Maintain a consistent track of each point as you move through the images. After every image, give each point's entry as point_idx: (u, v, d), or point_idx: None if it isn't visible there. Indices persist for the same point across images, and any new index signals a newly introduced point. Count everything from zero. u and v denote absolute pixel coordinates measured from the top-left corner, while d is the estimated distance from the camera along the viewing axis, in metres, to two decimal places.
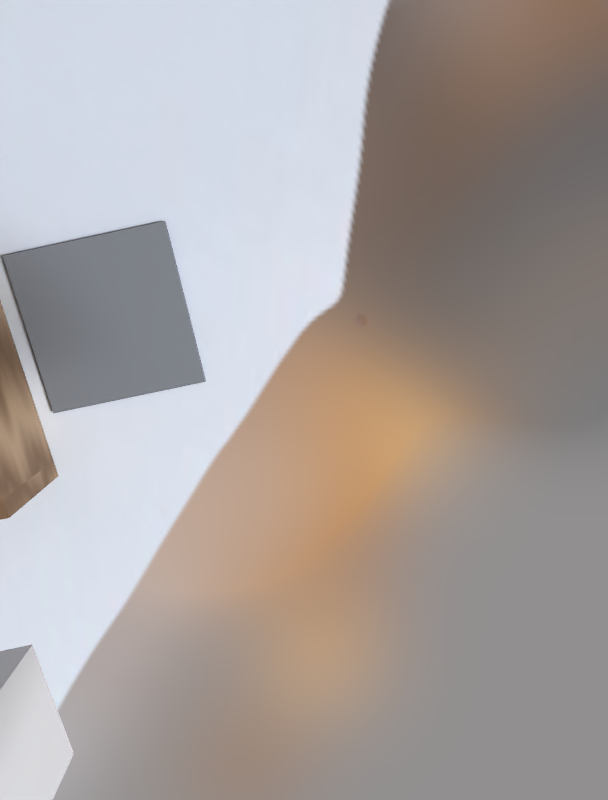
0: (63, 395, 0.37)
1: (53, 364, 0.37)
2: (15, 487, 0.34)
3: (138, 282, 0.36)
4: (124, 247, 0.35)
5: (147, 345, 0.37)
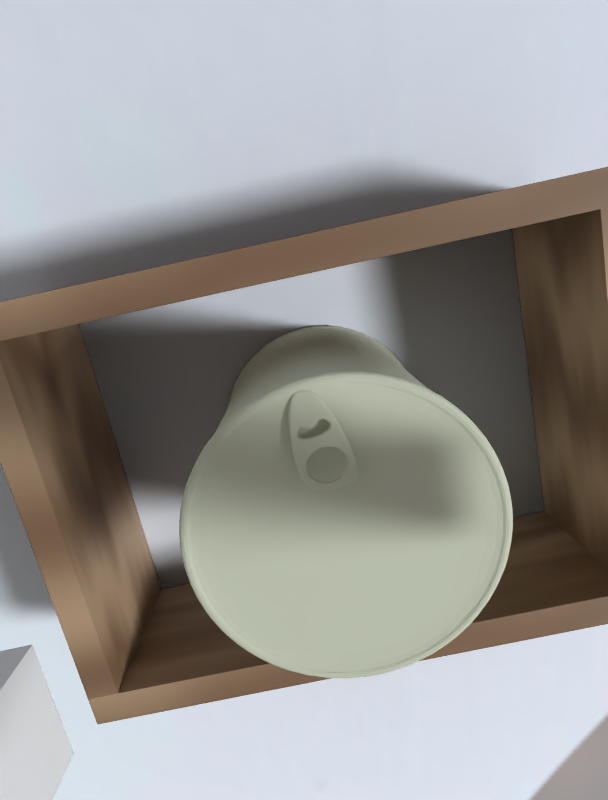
0: None
1: None
2: None
3: None
4: None
5: None
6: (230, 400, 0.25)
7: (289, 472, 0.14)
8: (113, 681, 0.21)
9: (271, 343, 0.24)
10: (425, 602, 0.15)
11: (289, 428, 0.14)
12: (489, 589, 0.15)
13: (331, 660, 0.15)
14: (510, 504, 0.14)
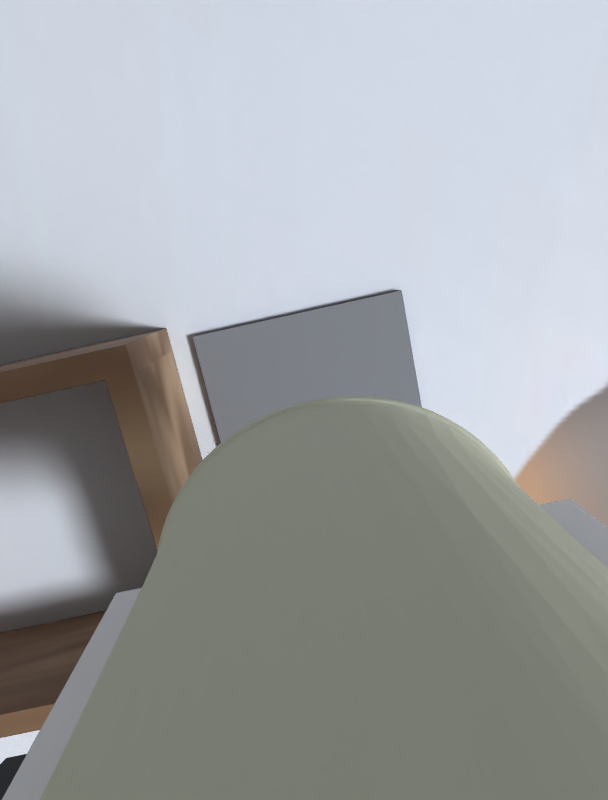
0: None
1: None
2: None
3: (363, 366, 0.28)
4: (348, 323, 0.27)
5: None
6: (160, 545, 0.12)
7: None
8: None
9: (242, 433, 0.12)
10: None
11: None
12: None
13: None
14: None
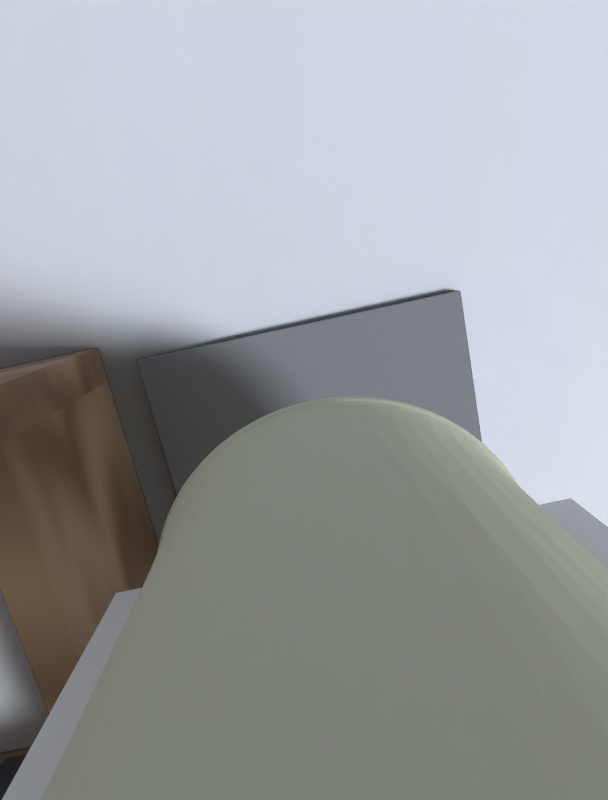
0: None
1: None
2: None
3: None
4: (377, 341, 0.18)
5: None
6: (160, 546, 0.12)
7: None
8: None
9: (243, 433, 0.12)
10: None
11: None
12: None
13: None
14: None
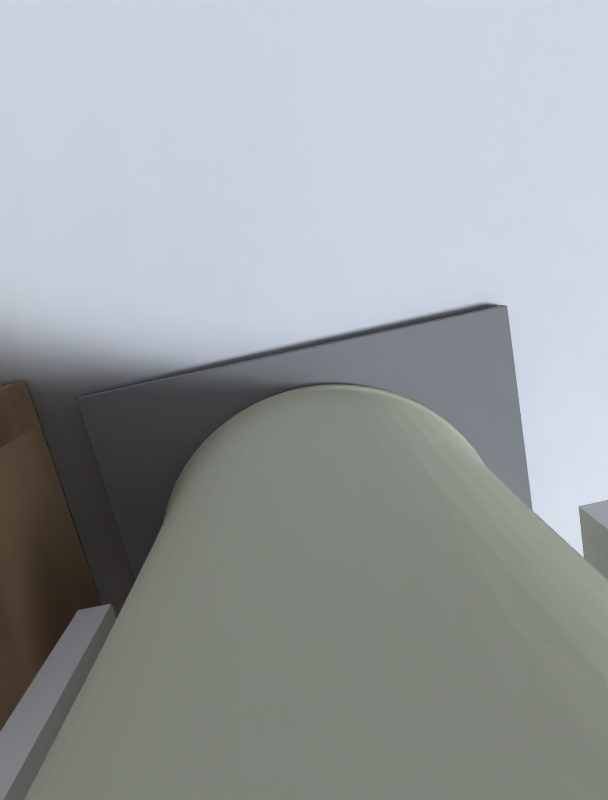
0: None
1: None
2: None
3: None
4: (397, 372, 0.13)
5: None
6: (166, 518, 0.14)
7: None
8: None
9: (240, 417, 0.13)
10: None
11: None
12: None
13: None
14: None
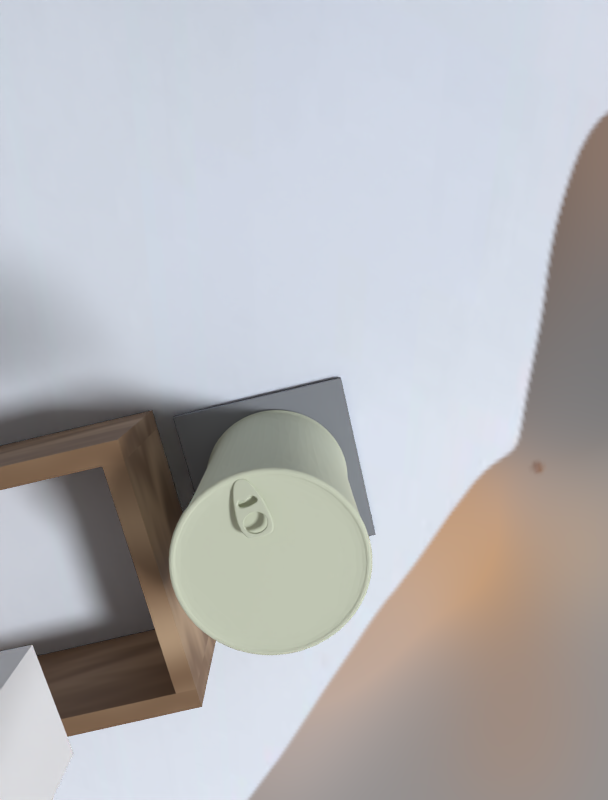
0: None
1: None
2: (200, 667, 0.32)
3: None
4: (299, 404, 0.34)
5: None
6: (208, 464, 0.34)
7: (234, 527, 0.23)
8: None
9: (237, 423, 0.34)
10: (321, 605, 0.24)
11: (233, 501, 0.23)
12: (360, 597, 0.24)
13: (264, 643, 0.24)
14: (369, 544, 0.24)
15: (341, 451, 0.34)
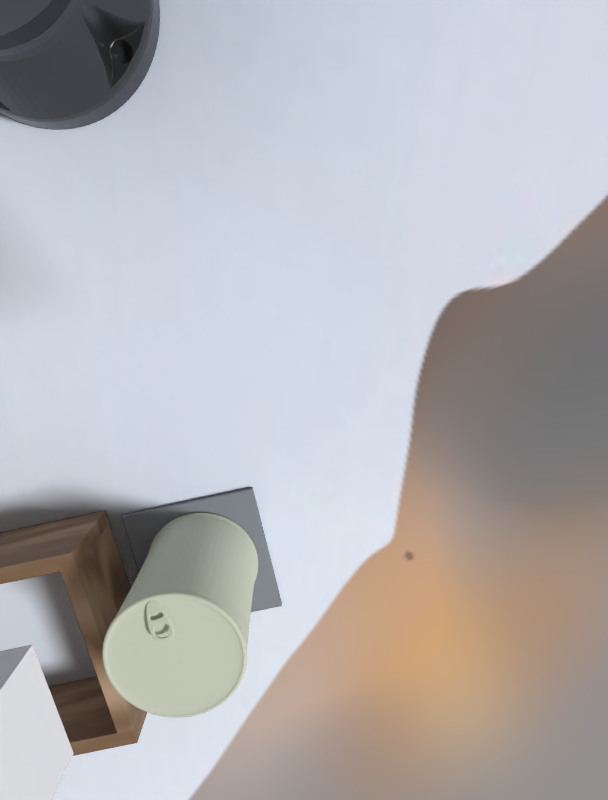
0: None
1: None
2: (138, 711, 0.42)
3: None
4: (220, 508, 0.44)
5: None
6: (148, 553, 0.44)
7: (148, 631, 0.33)
8: None
9: (171, 523, 0.43)
10: (212, 684, 0.34)
11: (146, 615, 0.33)
12: (238, 679, 0.34)
13: (171, 709, 0.34)
14: (243, 644, 0.33)
15: (252, 544, 0.44)
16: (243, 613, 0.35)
